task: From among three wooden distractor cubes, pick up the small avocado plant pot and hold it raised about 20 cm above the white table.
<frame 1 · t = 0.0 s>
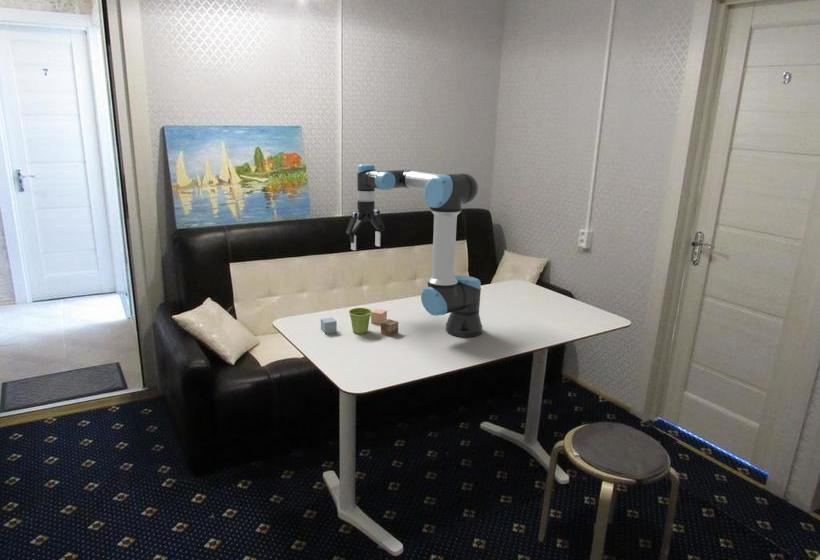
hand: (365, 247, 261), 28 cm above the table, fingers open, 13 cm apart
slate grey cube: (328, 331, 238), on the table
terracotta cube: (378, 322, 250), on the table
walnut cube: (389, 333, 237), on the table
plant pot: (360, 331, 238), on the table
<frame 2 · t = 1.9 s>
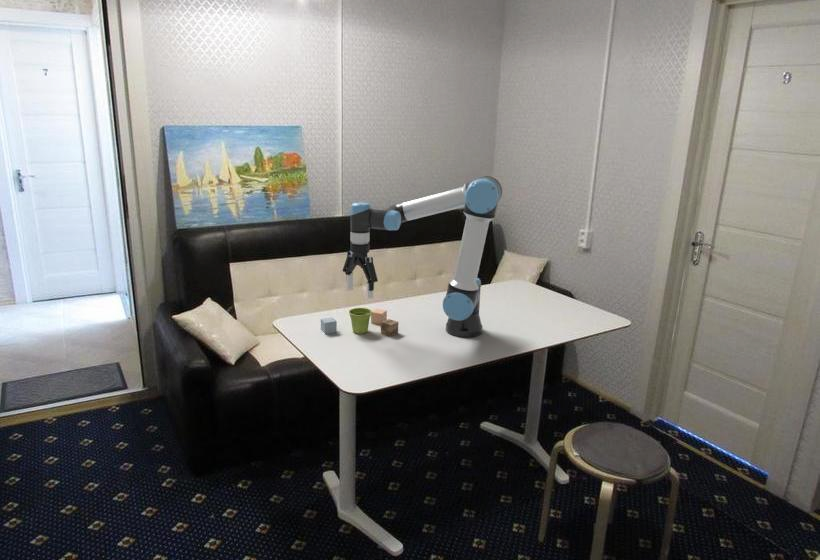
hand: (359, 294, 235), 16 cm above the table, fingers open, 13 cm apart
nothing on the table moved.
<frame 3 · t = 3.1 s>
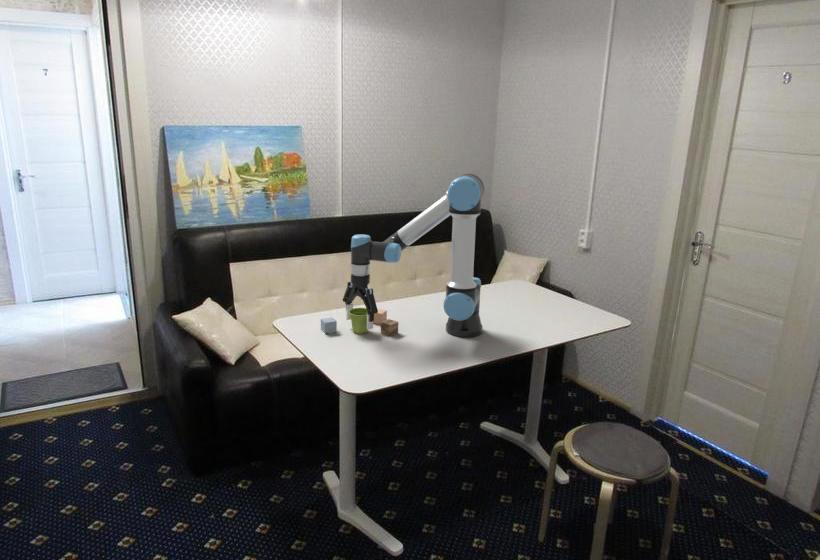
hand: (359, 324, 237), 3 cm above the table, fingers open, 13 cm apart
nothing on the table moved.
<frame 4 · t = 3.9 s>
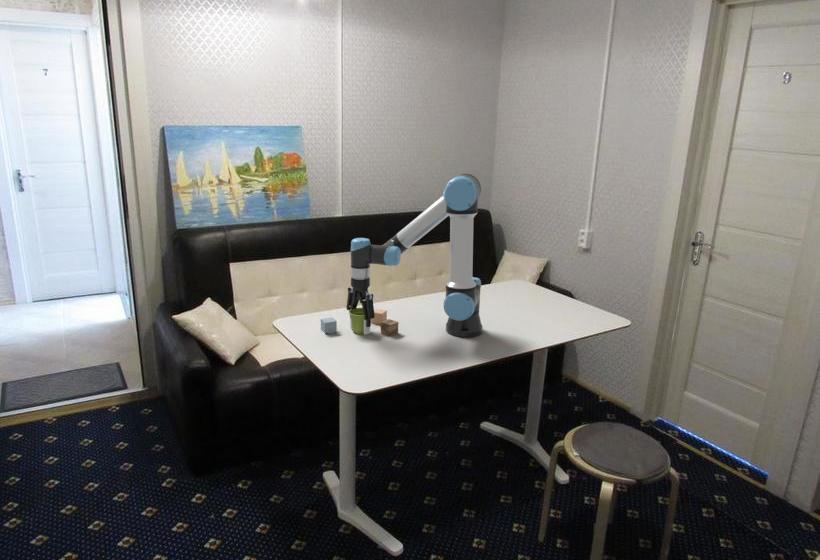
hand: (360, 330, 238), 0 cm above the table, fingers closed on plant pot, 8 cm apart
plant pot: (360, 331, 238), on the table, touching gripper
everything else where it was.
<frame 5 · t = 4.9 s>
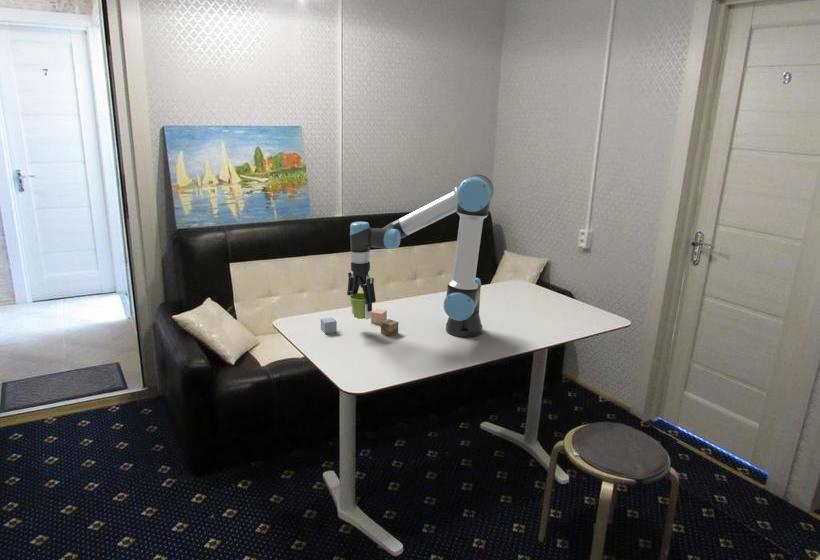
hand: (361, 315, 236), 7 cm above the table, fingers closed on plant pot, 8 cm apart
plant pot: (361, 317, 236), point 6 cm above the table, touching gripper
everything else where it was.
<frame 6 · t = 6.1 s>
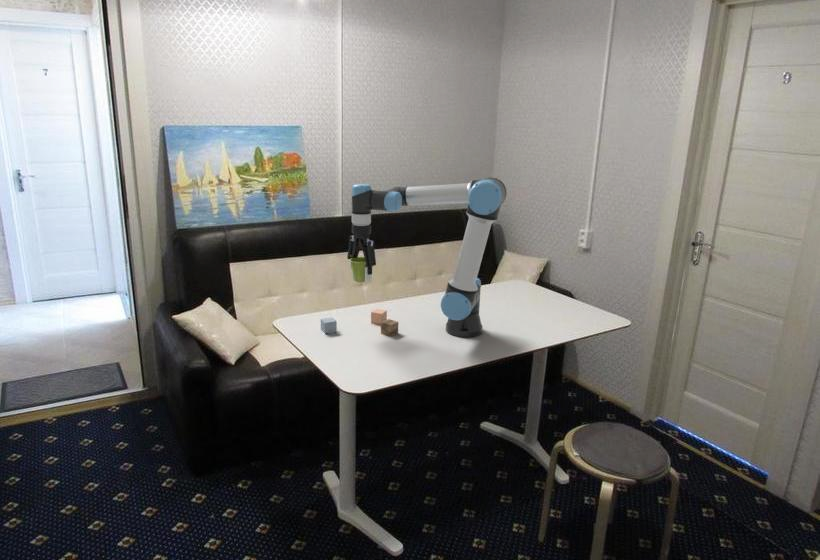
hand: (361, 279, 235), 21 cm above the table, fingers closed on plant pot, 8 cm apart
plant pot: (361, 281, 235), point 21 cm above the table, touching gripper
everything else where it was.
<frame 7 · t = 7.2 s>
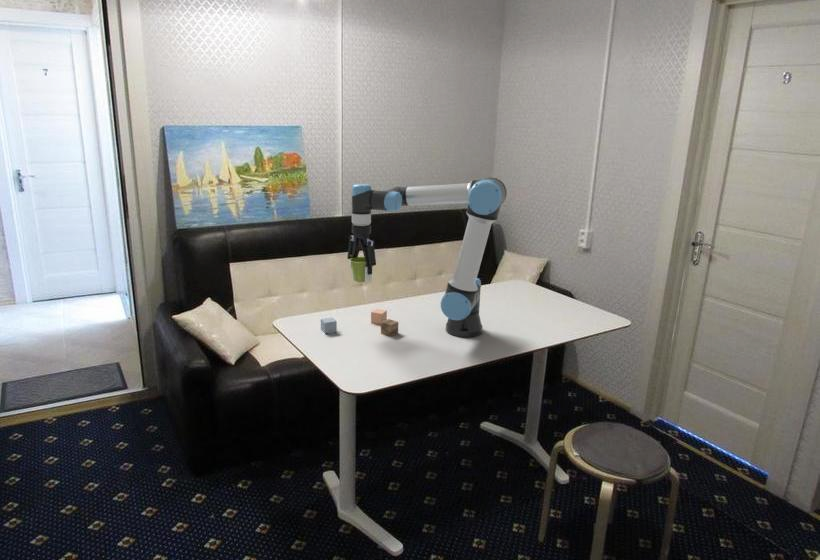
hand: (361, 279, 235), 21 cm above the table, fingers closed on plant pot, 8 cm apart
plant pot: (361, 280, 235), point 21 cm above the table, touching gripper
everything else where it was.
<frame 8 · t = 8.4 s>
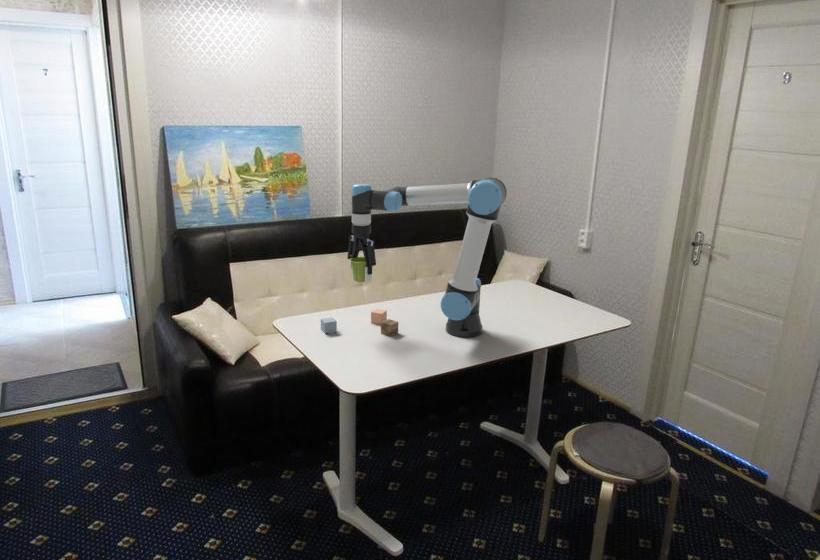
hand: (361, 279, 235), 21 cm above the table, fingers closed on plant pot, 8 cm apart
plant pot: (361, 280, 235), point 21 cm above the table, touching gripper
everything else where it was.
at the end: the gripper is holding plant pot; plant pot point 20.7 cm above the table; walnut cube moved 0.1 cm from its start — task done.
